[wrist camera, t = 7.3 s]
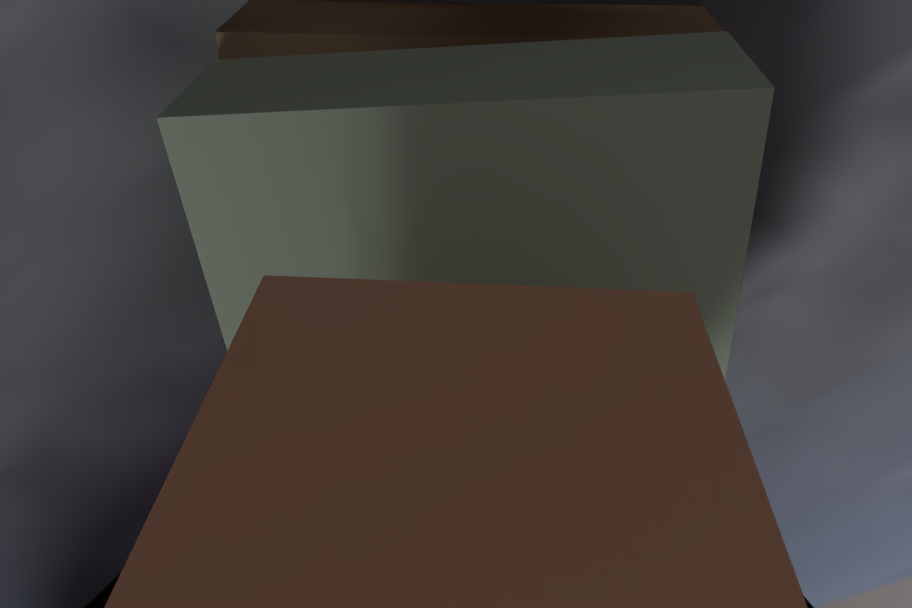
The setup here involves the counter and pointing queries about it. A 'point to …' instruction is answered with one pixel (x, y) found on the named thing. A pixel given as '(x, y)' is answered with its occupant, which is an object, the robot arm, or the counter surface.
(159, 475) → the counter surface
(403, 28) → the walnut slab
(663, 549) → the tan cube
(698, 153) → the sage slab
